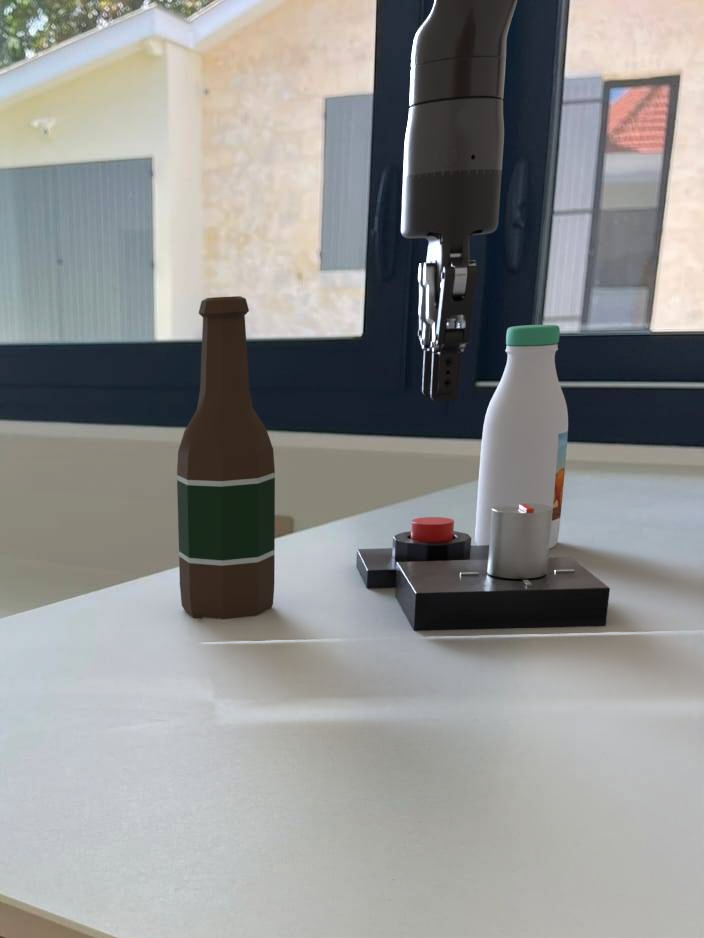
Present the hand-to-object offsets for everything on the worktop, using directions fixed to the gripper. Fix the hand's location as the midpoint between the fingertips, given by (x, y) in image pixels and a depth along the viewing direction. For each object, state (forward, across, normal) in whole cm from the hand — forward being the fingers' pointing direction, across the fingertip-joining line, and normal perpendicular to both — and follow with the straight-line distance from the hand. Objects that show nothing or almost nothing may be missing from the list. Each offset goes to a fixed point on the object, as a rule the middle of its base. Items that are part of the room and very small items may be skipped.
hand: (439, 397), depth 103 cm
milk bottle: (+15, +12, -10) cm, 22 cm away
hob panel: (+15, -13, -3) cm, 20 cm away
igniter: (+15, 0, 0) cm, 15 cm away
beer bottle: (+15, -10, +18) cm, 26 cm away
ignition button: (+12, 0, 0) cm, 12 cm away
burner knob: (+12, -13, -5) cm, 18 cm away
